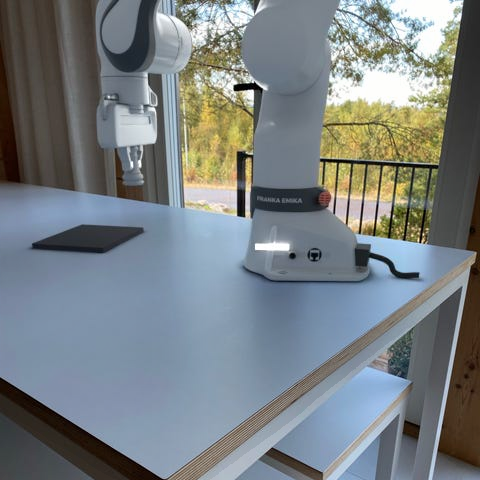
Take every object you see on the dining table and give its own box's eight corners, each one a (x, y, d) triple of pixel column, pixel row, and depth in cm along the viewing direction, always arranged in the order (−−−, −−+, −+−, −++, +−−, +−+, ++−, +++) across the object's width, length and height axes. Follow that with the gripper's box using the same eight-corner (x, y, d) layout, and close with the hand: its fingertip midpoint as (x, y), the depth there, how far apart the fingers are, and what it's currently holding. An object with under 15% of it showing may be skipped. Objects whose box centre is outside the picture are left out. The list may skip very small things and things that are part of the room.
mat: (143, 231, 112) (143, 227, 112) (103, 252, 94) (103, 247, 94) (82, 228, 116) (81, 224, 115) (32, 248, 98) (31, 243, 97)
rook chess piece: (142, 182, 101) (139, 142, 98) (145, 185, 97) (142, 143, 94) (121, 183, 99) (117, 143, 96) (123, 186, 95) (119, 144, 92)
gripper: (116, 92, 82) (124, 175, 87) (160, 97, 100) (164, 165, 105) (83, 92, 83) (93, 174, 88) (132, 97, 101) (138, 165, 107)
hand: (132, 169), depth 97 cm, fingers closed on rook chess piece, 3 cm apart
